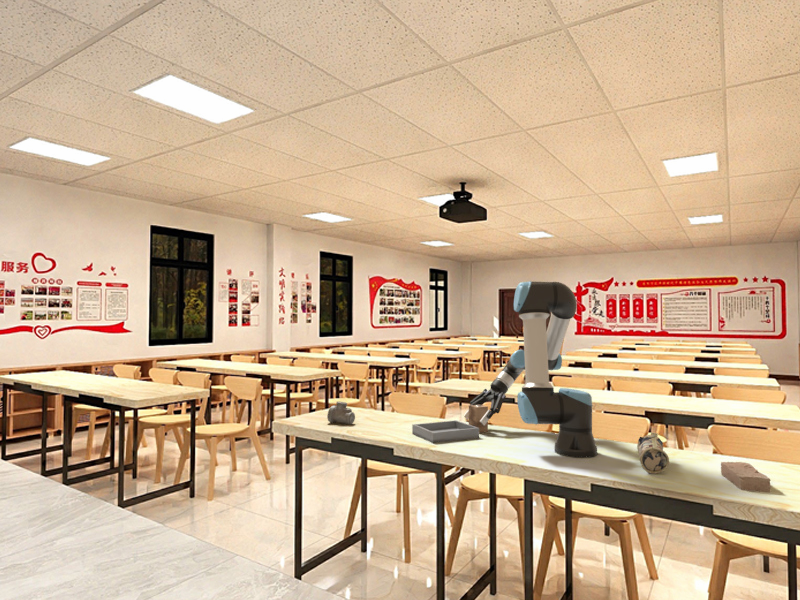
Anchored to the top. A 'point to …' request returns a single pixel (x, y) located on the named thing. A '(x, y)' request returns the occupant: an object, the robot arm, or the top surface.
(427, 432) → the tray
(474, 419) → the bored block
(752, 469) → the brick
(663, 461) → the pencil case
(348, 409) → the pipe fitting
